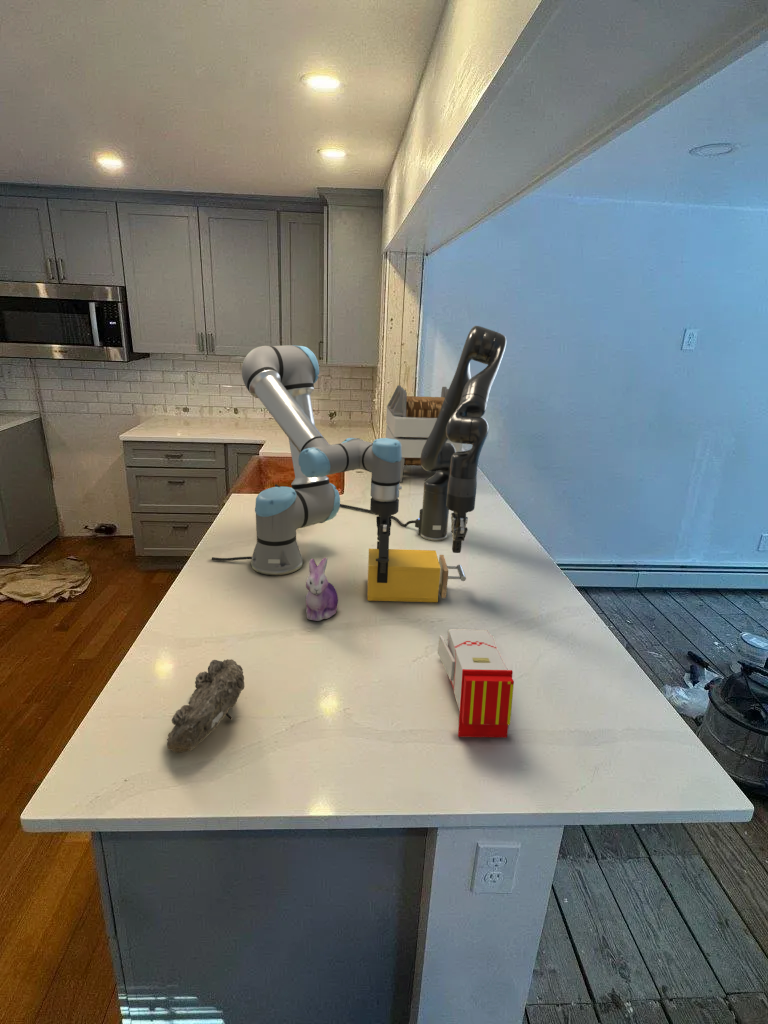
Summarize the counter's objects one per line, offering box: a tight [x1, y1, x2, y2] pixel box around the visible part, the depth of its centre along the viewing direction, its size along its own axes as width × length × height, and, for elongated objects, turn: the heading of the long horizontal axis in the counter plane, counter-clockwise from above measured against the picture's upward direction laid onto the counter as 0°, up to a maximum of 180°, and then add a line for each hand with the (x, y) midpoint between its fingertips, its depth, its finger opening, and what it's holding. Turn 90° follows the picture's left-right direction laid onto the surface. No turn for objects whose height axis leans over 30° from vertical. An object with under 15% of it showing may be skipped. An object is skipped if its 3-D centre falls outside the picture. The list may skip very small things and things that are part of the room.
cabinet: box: [367, 548, 441, 603], centre depth 158 cm, size 19×12×10 cm, turn 92°
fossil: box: [166, 658, 245, 754], centre depth 106 cm, size 22×10×15 cm
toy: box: [437, 628, 515, 738], centre depth 117 cm, size 12×13×30 cm
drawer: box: [438, 554, 467, 599], centre depth 158 cm, size 23×10×8 cm, turn 92°
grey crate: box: [385, 384, 463, 483], centre depth 268 cm, size 34×33×41 cm
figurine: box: [305, 557, 339, 622], centre depth 144 cm, size 9×10×15 cm
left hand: (381, 572), depth 157 cm, fingers closed on cabinet, 11 cm apart
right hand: (456, 551), depth 156 cm, fingers closed
